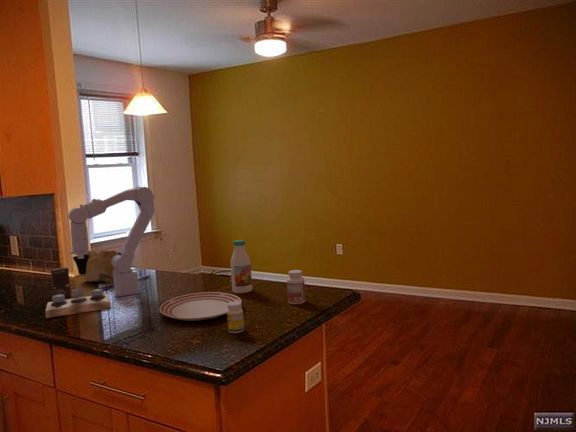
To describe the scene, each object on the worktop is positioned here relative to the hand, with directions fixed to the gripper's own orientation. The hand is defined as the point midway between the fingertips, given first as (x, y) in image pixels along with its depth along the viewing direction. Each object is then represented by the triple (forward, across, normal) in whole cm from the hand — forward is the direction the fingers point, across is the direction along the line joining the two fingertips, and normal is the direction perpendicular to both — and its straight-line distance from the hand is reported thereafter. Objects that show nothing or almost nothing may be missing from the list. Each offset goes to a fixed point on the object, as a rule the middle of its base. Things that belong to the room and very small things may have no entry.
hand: (82, 274), depth 181 cm
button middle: (+6, +9, -2) cm, 11 cm away
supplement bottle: (+10, +63, +42) cm, 76 cm away
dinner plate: (+10, +39, +37) cm, 54 cm away
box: (+11, -10, -8) cm, 17 cm away
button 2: (+7, +9, +5) cm, 12 cm away
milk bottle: (+9, +22, +57) cm, 62 cm away
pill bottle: (+9, +47, +69) cm, 84 cm away
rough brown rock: (+10, -30, +11) cm, 34 cm away
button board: (+10, +10, -2) cm, 15 cm away
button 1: (+7, +9, -8) cm, 14 cm away
